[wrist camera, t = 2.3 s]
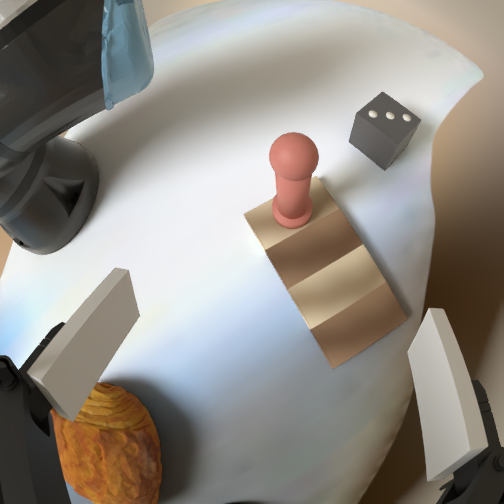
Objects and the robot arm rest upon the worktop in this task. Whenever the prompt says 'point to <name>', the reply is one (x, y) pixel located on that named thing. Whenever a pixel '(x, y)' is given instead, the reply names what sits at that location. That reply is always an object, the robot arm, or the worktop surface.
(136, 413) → the croissant
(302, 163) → the pawn
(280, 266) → the track
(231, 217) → the worktop surface
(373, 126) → the die
